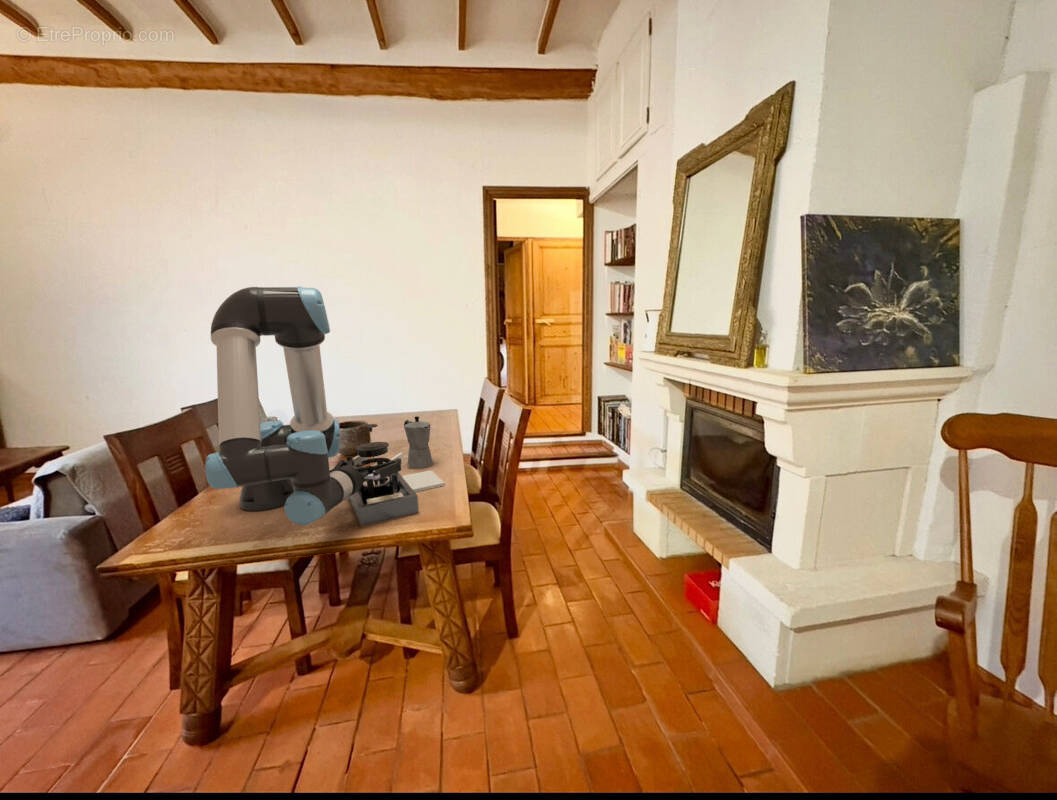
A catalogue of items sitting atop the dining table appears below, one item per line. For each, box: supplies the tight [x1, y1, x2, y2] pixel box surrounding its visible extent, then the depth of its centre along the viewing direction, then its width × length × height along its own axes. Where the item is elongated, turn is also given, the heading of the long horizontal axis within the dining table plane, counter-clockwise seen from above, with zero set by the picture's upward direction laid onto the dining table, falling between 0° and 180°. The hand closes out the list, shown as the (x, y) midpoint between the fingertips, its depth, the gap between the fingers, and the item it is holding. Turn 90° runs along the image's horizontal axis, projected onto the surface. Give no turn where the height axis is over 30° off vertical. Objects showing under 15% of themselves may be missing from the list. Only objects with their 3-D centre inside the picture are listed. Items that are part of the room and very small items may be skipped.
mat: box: [401, 469, 446, 493], centre depth 142 cm, size 11×14×1 cm
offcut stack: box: [366, 493, 403, 504], centre depth 119 cm, size 11×4×5 cm, turn 120°
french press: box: [355, 423, 400, 505], centre depth 126 cm, size 12×9×23 cm
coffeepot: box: [403, 416, 434, 470], centre depth 159 cm, size 15×9×18 cm, turn 45°
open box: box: [348, 472, 420, 528], centre depth 125 cm, size 15×22×5 cm
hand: (384, 456), depth 129 cm, fingers closed on french press, 11 cm apart
